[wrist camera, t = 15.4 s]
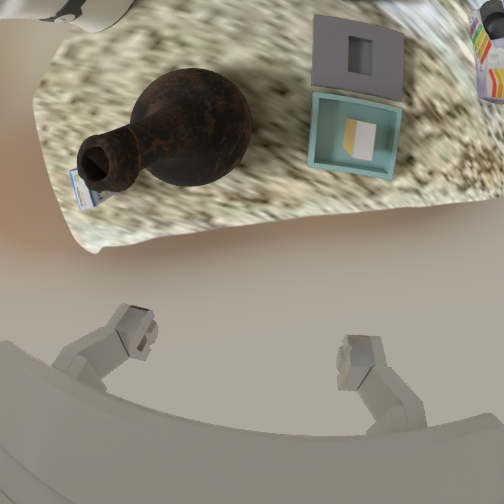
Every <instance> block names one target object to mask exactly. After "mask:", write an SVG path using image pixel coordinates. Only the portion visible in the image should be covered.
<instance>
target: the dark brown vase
mask: <svg viewBox="0 0 504 504" xmlns="http://www.w3.org/2000/svg"><path fill="white" fill-rule="evenodd" d="M251 129H252V121H251V114H250V110H249V106H248V104H247V101H246V99H245V98H244V96H243V95H242V93H241V92H240V90H239V89H238V88H237V87H236V86H235V85H234V84H233V83H232V82H231V81H230V80H228V79H227V78H225V77H223V76H222V75H220V74H218V73H215V72H213V71H209V70H205V69H198V68H187V69H180V70H175V71H172V72H169V73H167V74H165V75H163V76H161V77H159V78H158V79H156V80H155V81H153V82H152V83H151V84H150V85H149V86H148V87H147V88H146V89H145V90H144V91H143V92H142V94H141V95H140V97H139V98H138V100H137V102H136V104H135V106H134V108H133V111H132V115H131V119H130V124H128V125H125V126H123V127H120V128H118V129H115V130H112V131H110V132H107V133H104V134H100V135H93V136H90V137H88V138H87V139H85V141H84V142H83V143H82V145H81V147H80V149H79V152H78V155H77V171H78V175H79V176H80V178H82V179H83V180H84V182H85V185H86V187H87V188H88V189H90V190H93V191H96V192H101V191H110V192H120V191H123V190H126V189H127V188H129V187H130V186H131V185H132V184H133V183H134V182H135V179H136V178H137V176H138V174H139V171H140V170H142V169H144V168H146V169H147V170H148V171H149V172H150V173H151V174H152V175H154V176H155V177H157V178H158V179H160V180H162V181H164V182H166V183H169V184H172V185H176V186H185V187H192V186H201V185H205V184H209V183H212V182H214V181H216V180H218V179H220V178H222V177H223V176H225V175H226V174H228V173H229V172H230V171H231V170H232V169H233V168H234V167H235V166H236V165H238V163H239V162H240V161H241V159H242V157H243V155H244V153H245V151H246V149H247V147H248V144H249V141H250V137H251Z"/></svg>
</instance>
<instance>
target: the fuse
mask: <svg viewBox="0 0 504 504" xmlns="http://www.w3.org/2000/svg"><path fill="white" fill-rule="evenodd" d="M375 132H376V124H373V123H369V122H366V121H363V120H358V119H352V118H346V122H345V132H344V142H343V148H344V149H345V150H346V151H347V152H348V153H349V154H350V155H351V156H352V157H353V158H358V159H364V160H370V161H372V155H373V147H374V140H375Z"/></svg>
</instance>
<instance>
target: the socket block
mask: <svg viewBox="0 0 504 504" xmlns="http://www.w3.org/2000/svg"><path fill="white" fill-rule="evenodd" d="M403 75H404V34H403V33H400V32H397V31H393V30H390V29H387V28H383V27H379V26H375V25H371V24H367V23H363V22H358V21H353V20H348V19H342V18H336V17H330V16H323V15H315V14H314V18H313V54H312V78H311V86H320V87H327V88H334V89H341V90H347V91H352V92H358V93H363V94H368V95H372V96H377V97H381V98H385V99H389V100H393V101H401V102H402V93H403Z"/></svg>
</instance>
